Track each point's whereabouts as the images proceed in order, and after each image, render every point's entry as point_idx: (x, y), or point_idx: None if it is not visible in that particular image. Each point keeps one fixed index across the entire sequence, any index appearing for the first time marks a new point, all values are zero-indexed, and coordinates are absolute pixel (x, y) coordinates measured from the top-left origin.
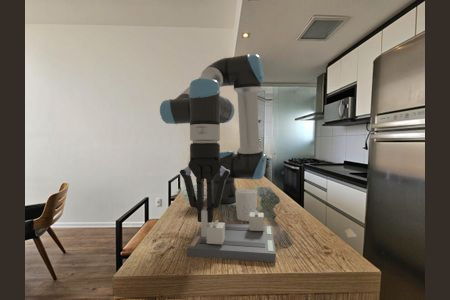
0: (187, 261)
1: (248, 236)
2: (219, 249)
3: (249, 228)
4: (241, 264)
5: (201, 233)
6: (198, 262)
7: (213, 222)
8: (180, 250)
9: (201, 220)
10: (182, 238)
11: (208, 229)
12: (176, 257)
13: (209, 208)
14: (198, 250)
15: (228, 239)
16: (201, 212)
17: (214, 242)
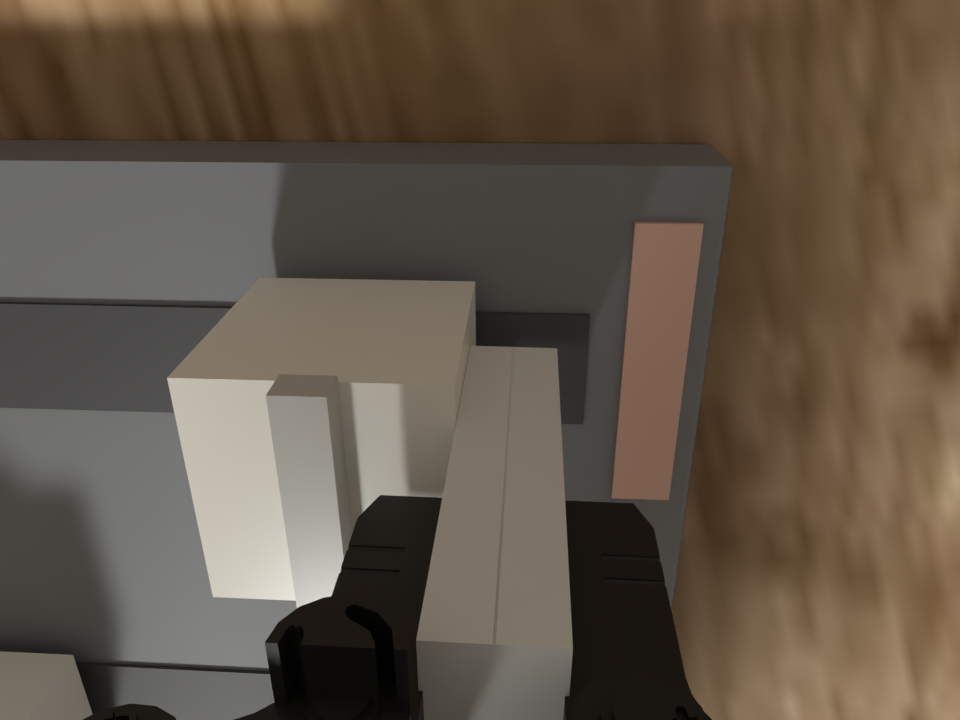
0: (674, 11)
1: (57, 542)
2: (282, 179)
3: (59, 671)
4: (28, 39)
5: (557, 368)
6: (530, 7)
7: None
8: (817, 274)
9: (561, 491)
10: (844, 549)
11: (422, 366)
12: (837, 94)
13: (328, 690)
14: (563, 161)
15: None
16: (564, 611)
17: (364, 287)
